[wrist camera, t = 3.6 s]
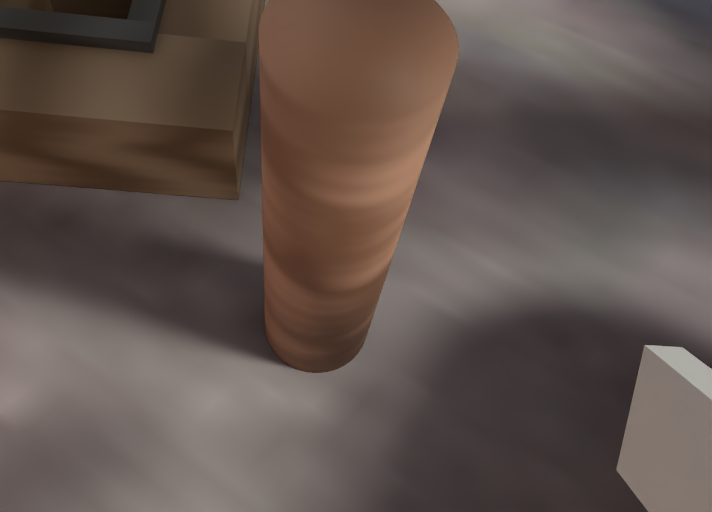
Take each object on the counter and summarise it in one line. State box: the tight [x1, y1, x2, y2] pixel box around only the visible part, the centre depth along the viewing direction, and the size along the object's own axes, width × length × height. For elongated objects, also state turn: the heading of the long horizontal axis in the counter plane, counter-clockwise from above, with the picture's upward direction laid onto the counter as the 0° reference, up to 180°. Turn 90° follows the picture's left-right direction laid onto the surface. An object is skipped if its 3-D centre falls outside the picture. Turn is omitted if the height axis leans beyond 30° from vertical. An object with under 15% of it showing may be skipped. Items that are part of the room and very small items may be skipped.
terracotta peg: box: [259, 0, 459, 373], centre depth 21 cm, size 4×4×16 cm
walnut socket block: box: [0, 0, 265, 200], centre depth 32 cm, size 16×16×6 cm
